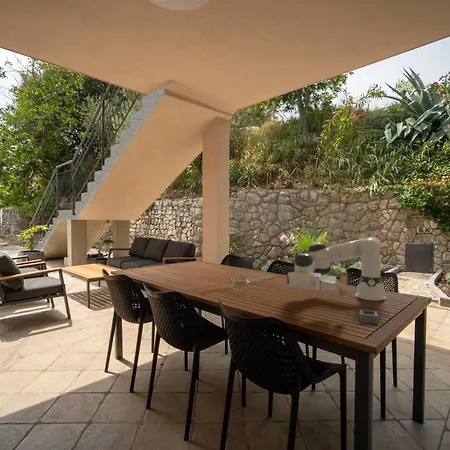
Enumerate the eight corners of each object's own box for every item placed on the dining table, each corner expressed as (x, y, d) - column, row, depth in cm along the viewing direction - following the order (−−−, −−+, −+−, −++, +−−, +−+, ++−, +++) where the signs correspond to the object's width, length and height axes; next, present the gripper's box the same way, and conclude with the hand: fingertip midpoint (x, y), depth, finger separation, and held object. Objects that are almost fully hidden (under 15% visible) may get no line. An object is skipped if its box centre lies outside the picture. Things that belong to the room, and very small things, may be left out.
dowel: (339, 295, 168) (339, 271, 167) (347, 296, 166) (347, 271, 166) (339, 297, 164) (339, 272, 164) (347, 298, 163) (347, 272, 162)
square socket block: (359, 317, 167) (359, 309, 167) (376, 318, 164) (376, 311, 164) (360, 322, 159) (360, 314, 159) (378, 324, 157) (378, 315, 157)
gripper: (318, 283, 179) (345, 285, 175) (316, 291, 160) (345, 294, 155) (318, 272, 179) (345, 273, 174) (316, 279, 160) (345, 281, 155)
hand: (345, 283), depth 165 cm, fingers closed on dowel, 4 cm apart
